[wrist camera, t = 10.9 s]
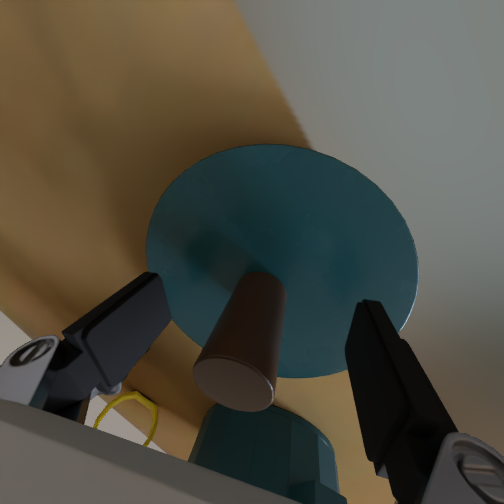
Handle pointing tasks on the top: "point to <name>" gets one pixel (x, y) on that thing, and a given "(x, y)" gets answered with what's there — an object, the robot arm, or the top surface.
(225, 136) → the top surface
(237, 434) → the pan
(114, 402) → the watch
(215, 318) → the pan lid
